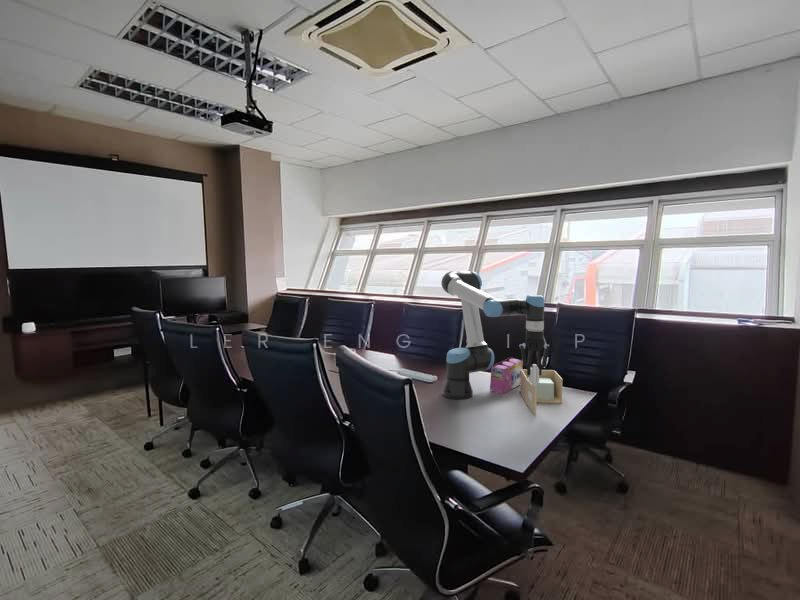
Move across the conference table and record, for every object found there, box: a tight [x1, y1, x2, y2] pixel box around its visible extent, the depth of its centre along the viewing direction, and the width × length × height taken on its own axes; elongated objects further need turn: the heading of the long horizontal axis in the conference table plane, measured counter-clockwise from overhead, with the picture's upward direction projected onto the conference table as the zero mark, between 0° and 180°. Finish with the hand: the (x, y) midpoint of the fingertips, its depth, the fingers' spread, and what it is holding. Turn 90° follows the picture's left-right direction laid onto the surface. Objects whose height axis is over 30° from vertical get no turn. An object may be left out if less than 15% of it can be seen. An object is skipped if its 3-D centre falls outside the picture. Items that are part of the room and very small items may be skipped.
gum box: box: [489, 356, 523, 395], centre depth 214 cm, size 24×8×14 cm, turn 138°
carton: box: [519, 368, 564, 404], centre depth 198 cm, size 17×17×12 cm
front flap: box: [524, 363, 538, 416], centre depth 182 cm, size 17×2×22 cm, turn 177°
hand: (534, 382), depth 176 cm, fingers open, 2 cm apart
